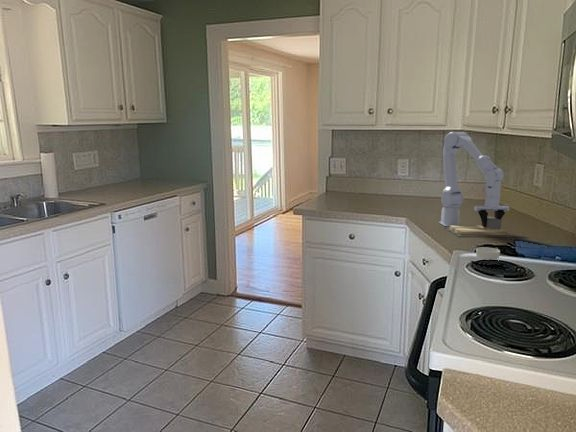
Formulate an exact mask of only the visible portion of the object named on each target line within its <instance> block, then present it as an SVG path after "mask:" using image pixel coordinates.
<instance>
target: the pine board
mask: <svg viewBox="0 0 576 432" xmlns="http://www.w3.org/2000/svg"><path fill="white" fill-rule="evenodd" d="M481 225H482V224H481ZM481 225H480V224H477V225H476V224H475V225H474V224H469V225H468V224H463V225H462V224H460V225H449V226H444V228H443V229H445V230H446V231H448V232H450V233H451V234H453V235H455V236H456V237H458V238H514V235H512V234H509V233H508V231H507V230H505V229H502V228H501V230H488V229H486V228H484V227H481Z"/></svg>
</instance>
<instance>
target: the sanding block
mask: <svg viewBox="0 0 576 432" xmlns="http://www.w3.org/2000/svg"><path fill="white" fill-rule="evenodd" d="M502 221H503V220H502V219H501V220H500V219H497V218H495V216H487V221H486V227H484V228H486V229H488V230H501V229H502ZM481 227H483V226H482V224H481Z"/></svg>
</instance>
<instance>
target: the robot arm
mask: <svg viewBox="0 0 576 432" xmlns="http://www.w3.org/2000/svg"><path fill="white" fill-rule="evenodd" d="M443 140H444V143H443V144H444V145H443V148H442V161H443V171H444V172H443V173H444V186H445V187H444V189H443V190H442V192H441V197H440V202H441V204H442V208H441V212H440V213H441V216H440V221H438V223H439V224H440V225H442V226H444V227H449V225H461V224H459V223H460V208H461V205H462V204H464V199H465V198H464V195H463V193H462V189H461V188H460V187H459V185H458V176H457V174H458V172H457V163H456V161H457V160H456V153H457V152H458V150H460V149H461V148H462V149H465V150H466V152H468V154H470V156H471V157H472V158H474V160H475V165H476V167H477V168H478V169H479V170H480V171H481V173H482V174H483V178H484V180H485V186H486V187H485V196H484V197H485V198H484V205H474V208H473V210H474V211H475V212H478V214H479V217H480V220H481V225H482V226H483V227H486V221H487V217H489V211H490V212H491V211H492V212H494V218H497V219H500V220H502V218H503V217H504V215H505V214H506V212H509V211H510V206H508V205H500V199H501V187H502V181H503V180H504V178H505V172H504V170H503V169H502V168H499V167H498V166H497V165H495V163H493V161H492V160H491V159H492V158H491V157H490V156H488V155H484V154H483V153H481V151H480V150H479V148H478V147H477V145H476V144H475V143H474V142H473V140H472V137H471V136H470V135H469V134H468V133H467V132H466V131H460V132H459V131H457V132H456V131H450V132H448V133H447V134H446V135H445V136H444V138H443Z"/></svg>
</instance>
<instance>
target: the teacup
mask: <svg viewBox="0 0 576 432" xmlns="http://www.w3.org/2000/svg"><path fill="white" fill-rule="evenodd" d="M475 253H476V254H475V255H476V258H479V259H486V260H489V259H497V258H498V259H500V254H501V249H497V248H495V247H486V246H481V247H477V248H475Z"/></svg>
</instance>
